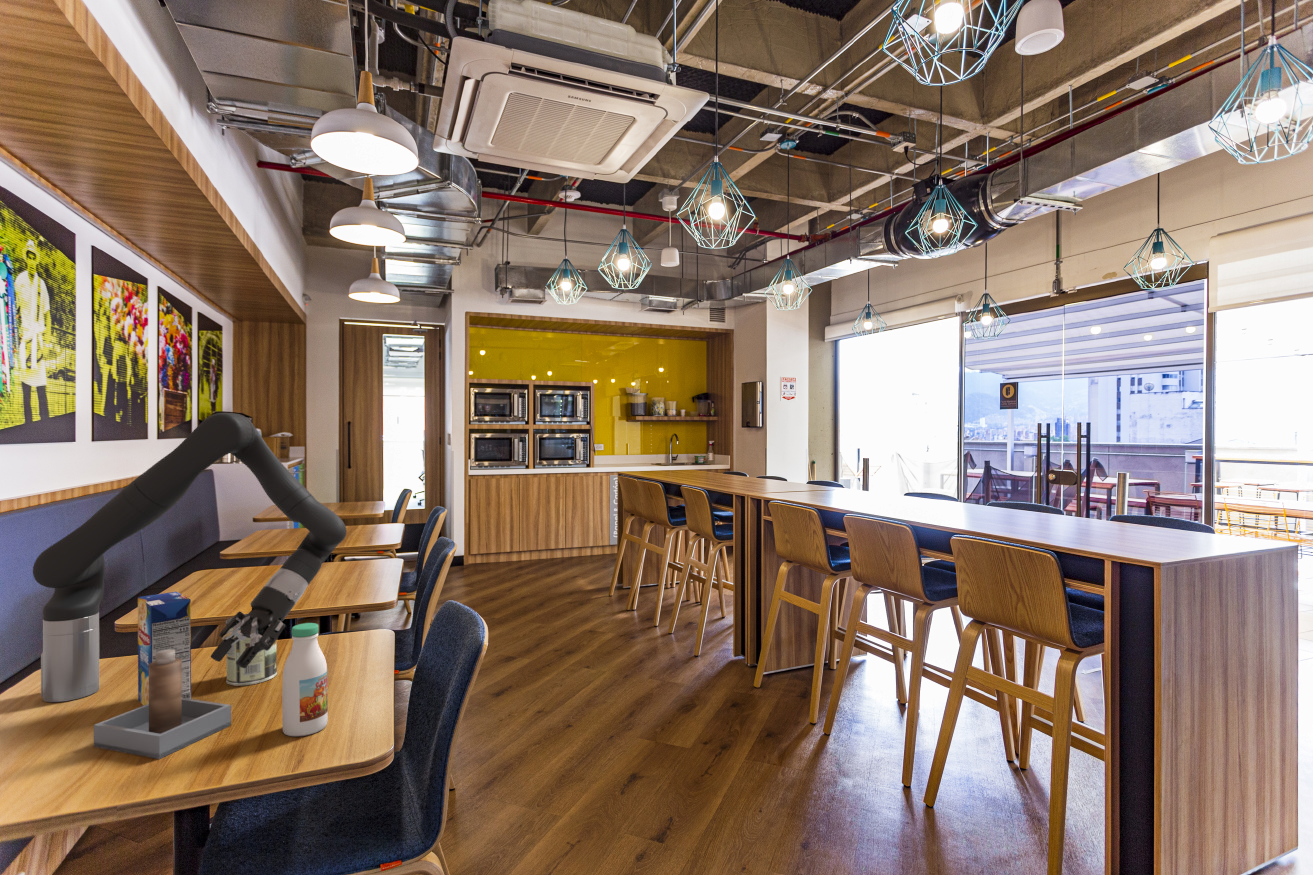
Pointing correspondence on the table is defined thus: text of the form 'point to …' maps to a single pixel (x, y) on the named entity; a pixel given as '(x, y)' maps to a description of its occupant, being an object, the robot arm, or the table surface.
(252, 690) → the table surface
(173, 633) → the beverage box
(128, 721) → the grey bin
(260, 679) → the coffee can
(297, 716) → the milk bottle
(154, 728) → the brown bottle
